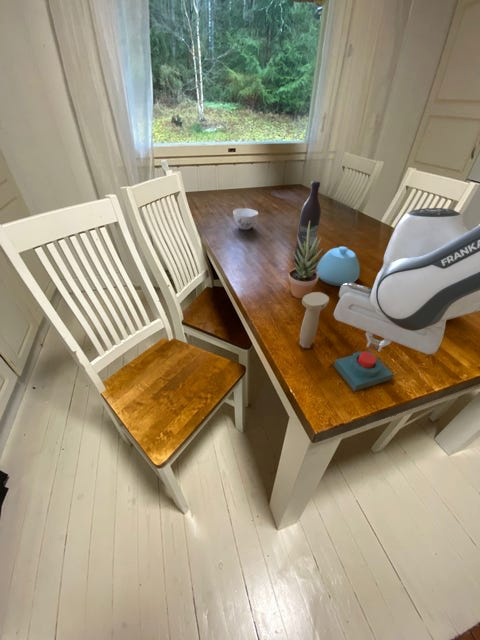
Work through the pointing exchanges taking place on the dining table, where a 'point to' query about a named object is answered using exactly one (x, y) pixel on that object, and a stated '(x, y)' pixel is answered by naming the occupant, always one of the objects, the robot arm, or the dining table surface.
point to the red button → (366, 360)
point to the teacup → (245, 217)
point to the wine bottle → (309, 219)
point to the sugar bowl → (338, 267)
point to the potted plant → (305, 268)
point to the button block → (362, 372)
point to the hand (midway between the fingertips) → (373, 347)
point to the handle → (311, 316)
